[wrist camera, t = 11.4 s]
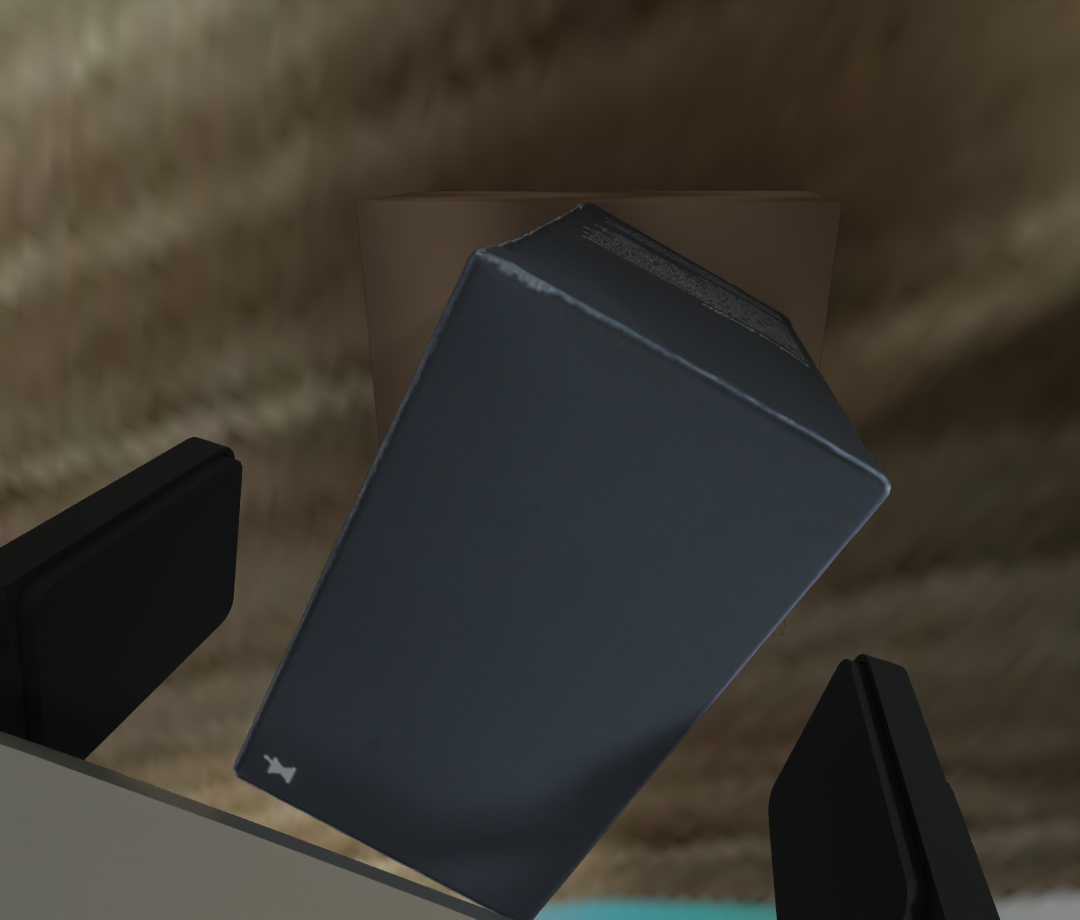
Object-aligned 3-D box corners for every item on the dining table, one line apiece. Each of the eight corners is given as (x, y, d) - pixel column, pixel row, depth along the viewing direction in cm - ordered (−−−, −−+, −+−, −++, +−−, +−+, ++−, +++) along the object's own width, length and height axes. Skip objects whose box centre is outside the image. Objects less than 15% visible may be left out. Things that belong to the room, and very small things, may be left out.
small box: (600, 622, 23) (530, 957, 13) (414, 517, 23) (209, 779, 13) (809, 322, 18) (927, 502, 9) (579, 191, 18) (448, 230, 9)
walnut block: (807, 190, 23) (842, 202, 17) (765, 539, 27) (783, 635, 22) (430, 190, 25) (355, 201, 19) (450, 514, 29) (394, 596, 24)
